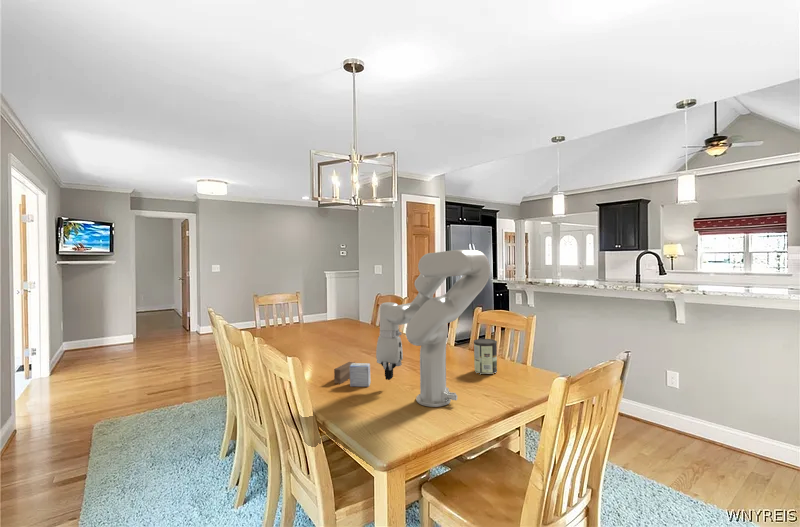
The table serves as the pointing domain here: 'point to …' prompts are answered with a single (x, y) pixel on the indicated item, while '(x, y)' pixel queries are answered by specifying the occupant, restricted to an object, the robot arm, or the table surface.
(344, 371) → the walnut block
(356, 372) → the medicine box
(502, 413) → the table surface
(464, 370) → the table surface
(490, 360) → the coffee can
